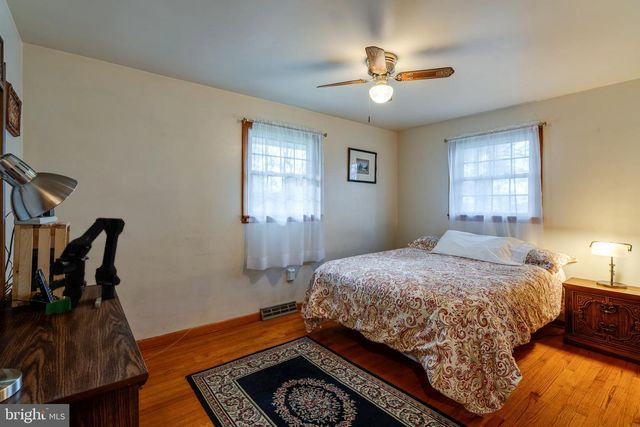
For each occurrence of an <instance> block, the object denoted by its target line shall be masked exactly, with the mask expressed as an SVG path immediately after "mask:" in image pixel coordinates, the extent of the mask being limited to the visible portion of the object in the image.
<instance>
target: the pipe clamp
mask: <svg viewBox="0 0 640 427" xmlns="http://www.w3.org/2000/svg"><path fill="white" fill-rule="evenodd" d="M54 301H55V300H54ZM51 302H52V301H51ZM51 302H50V303H46V304H45V305H46V306H45V316H50V315H53V314H63V312H64V311H70V310H71V309H72V304H71V300H70V297H69V296H66V297H64V298H62V299H59V300H57V301H55V302H52V303H51Z"/></svg>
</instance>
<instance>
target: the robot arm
mask: <svg viewBox="0 0 640 427" xmlns="http://www.w3.org/2000/svg"><path fill="white" fill-rule="evenodd" d="M125 226H126V223H125V221H124V219H123V218H121V217H97V218H96V219H95V221H94V223H93V224H92V225H91V226H90V227H88V228H87V229H86V230H85V232H84V233H83V234H82V235H81V236H79V237H76V238H74V239H72V240H71V241H69V242H68V243H67V244H66V246H65V248H64V249H63V251H62V253H61V254H60V255H59V257H56V258H55V260H54V262H52V263H51V264H50V266H49V272H50V274H51V275H52V276H55V277H56V276H57V277H58V276H62V275H65V276H64V277H63V278H62V277H61V278H58V279H57V278H56V279H54V280H51V281H50V282H49V283H48V285H49V289H50V291H51V292H54V291H56V290H58V289H60V288H65V289H63V290H62V294H61V295H62V297H70V300H71V309H76V308H77V307H78V304H79V302H80V301H81V298H82V296H83V294H84V293H85V289H84V288H87V285H88V282H87V281H86V280H85V276H86V261H87V260H90V258H89V257H88V256H87V255H88V254H89V252H90V251H91V249H92V247H93V242H94V241H95V240H96V239H97V238H98V237H99V235H101V233H102V232H103V231H104V233H105V235H106V237H105V243H104V251H103V256H102V261H101V262H102V263H101V265H100V266H99V267H96V269H95V274H94V279H95V280H94V281H95V285H96V286H100V295H99V297H101V300H105V299H109V300H110V299H116V292H115V291H116V287H117V286H119V285H120V284H121V279H120V277H119V276H118V270H117V267H116V265H115V262H116V253H117V248H118V241H119V237H120V235H121V234H122V233H123V231H124V230H125V229H124V228H125ZM83 287H84V288H83Z"/></svg>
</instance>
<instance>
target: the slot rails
mask: <svg viewBox="0 0 640 427" xmlns="http://www.w3.org/2000/svg"><path fill="white" fill-rule="evenodd" d="M53 301H54V302H55V301H58V300H57V299H56V300H53ZM101 302H102V299H101V297H100V296H97V298H96V300H95V303H94V308H95V309H99V308H100V306H101Z"/></svg>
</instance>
